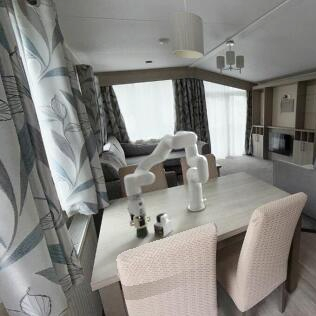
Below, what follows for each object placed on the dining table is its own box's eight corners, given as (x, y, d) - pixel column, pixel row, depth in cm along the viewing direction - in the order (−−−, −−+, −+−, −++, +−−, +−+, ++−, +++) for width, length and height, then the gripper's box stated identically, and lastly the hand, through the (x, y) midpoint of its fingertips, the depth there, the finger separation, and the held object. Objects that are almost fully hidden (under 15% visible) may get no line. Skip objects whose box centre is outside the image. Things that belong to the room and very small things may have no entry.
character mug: (151, 229, 124) (148, 210, 121) (153, 235, 118) (150, 216, 115) (131, 235, 118) (128, 215, 115) (133, 241, 113) (129, 221, 109)
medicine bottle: (154, 234, 119) (152, 217, 116) (162, 228, 125) (160, 211, 122) (164, 237, 116) (162, 219, 113) (172, 230, 123) (170, 213, 120)
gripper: (150, 196, 109) (153, 224, 114) (131, 190, 118) (135, 216, 122) (137, 202, 103) (141, 231, 108) (118, 195, 112) (123, 222, 116)
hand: (138, 223), depth 115 cm, fingers closed on character mug, 7 cm apart
